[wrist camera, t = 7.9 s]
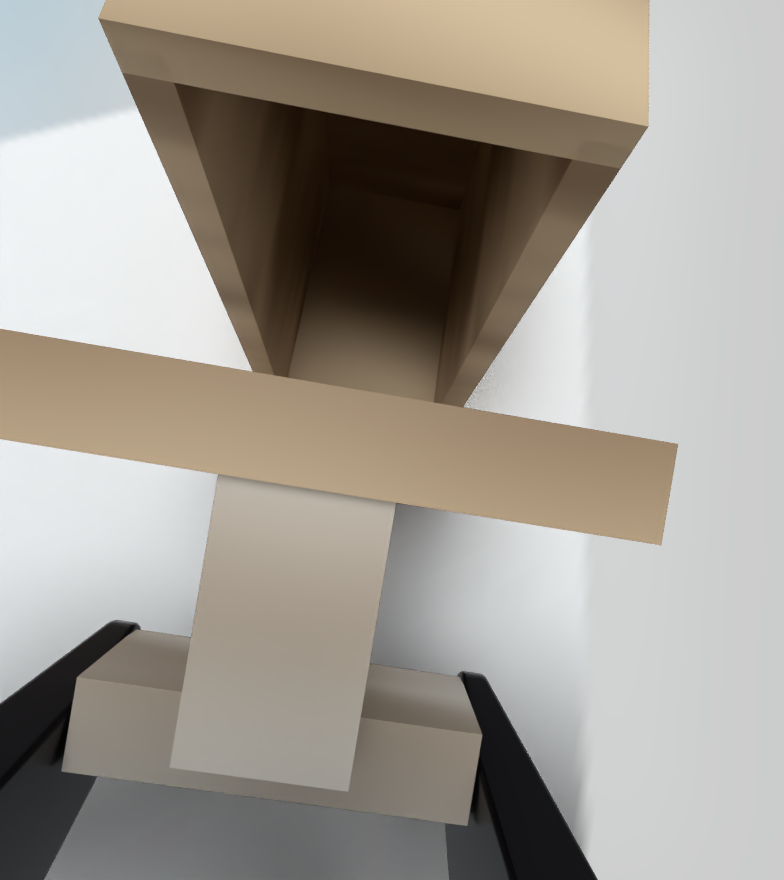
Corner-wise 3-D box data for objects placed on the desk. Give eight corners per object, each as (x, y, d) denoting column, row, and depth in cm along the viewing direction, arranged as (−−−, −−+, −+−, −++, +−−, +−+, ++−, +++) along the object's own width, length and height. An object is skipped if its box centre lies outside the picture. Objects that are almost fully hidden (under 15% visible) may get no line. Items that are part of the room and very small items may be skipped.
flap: (437, 599, 16) (590, 971, 5) (218, 565, 16) (-150, 880, 5) (464, 438, 16) (678, 443, 5) (245, 402, 16) (-58, 320, 5)
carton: (445, 433, 17) (647, 126, 6) (266, 402, 17) (98, 17, 5) (472, 210, 20) (652, -315, 8) (317, 181, 19) (276, -404, 8)
